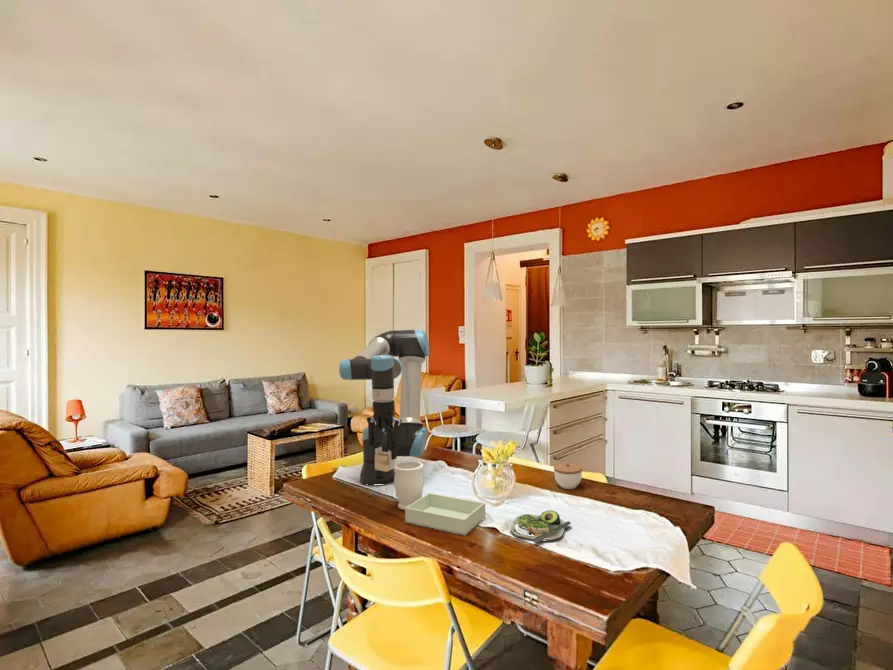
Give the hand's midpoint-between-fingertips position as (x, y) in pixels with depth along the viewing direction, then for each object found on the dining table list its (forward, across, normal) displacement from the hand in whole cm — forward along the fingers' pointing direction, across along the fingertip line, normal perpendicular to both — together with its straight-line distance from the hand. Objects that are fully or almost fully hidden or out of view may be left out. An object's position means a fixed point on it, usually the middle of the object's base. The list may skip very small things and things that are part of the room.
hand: (385, 467), depth 169 cm
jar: (+17, +2, +10) cm, 20 cm away
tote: (+17, +20, +6) cm, 27 cm away
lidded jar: (+17, +47, +55) cm, 74 cm away
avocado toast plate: (+17, +50, +13) cm, 55 cm away
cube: (0, 0, 0) cm, 0 cm away
